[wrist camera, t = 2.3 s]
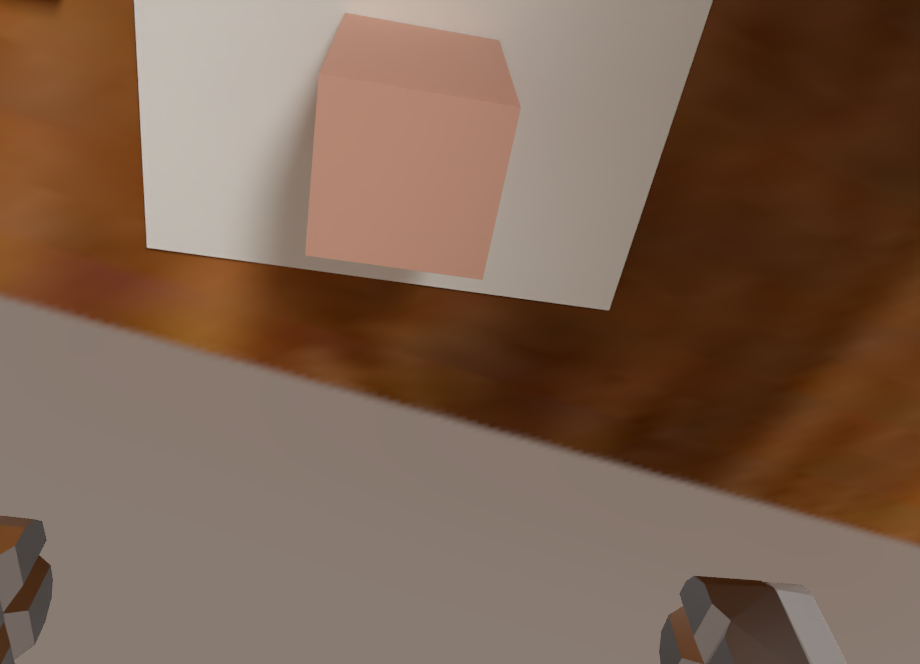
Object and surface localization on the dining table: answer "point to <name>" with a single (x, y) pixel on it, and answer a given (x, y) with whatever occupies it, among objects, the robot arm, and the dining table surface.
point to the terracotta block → (410, 147)
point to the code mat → (294, 110)
